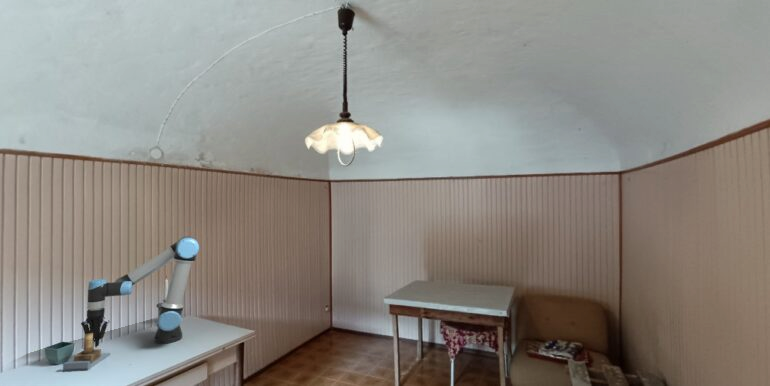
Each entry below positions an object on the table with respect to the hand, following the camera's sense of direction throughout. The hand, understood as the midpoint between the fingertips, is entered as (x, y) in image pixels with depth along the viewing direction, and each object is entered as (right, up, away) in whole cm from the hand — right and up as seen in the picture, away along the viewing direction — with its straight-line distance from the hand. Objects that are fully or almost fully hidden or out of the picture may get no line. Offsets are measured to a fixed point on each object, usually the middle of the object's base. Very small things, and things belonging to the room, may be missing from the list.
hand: (93, 352), depth 194 cm
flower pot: (-14, -3, -5) cm, 15 cm away
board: (+1, -3, -5) cm, 6 cm away
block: (+1, -2, -6) cm, 6 cm away
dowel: (+1, -1, -5) cm, 6 cm away
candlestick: (+4, -6, +56) cm, 56 cm away
